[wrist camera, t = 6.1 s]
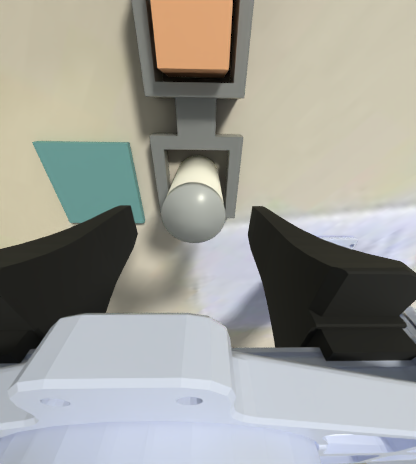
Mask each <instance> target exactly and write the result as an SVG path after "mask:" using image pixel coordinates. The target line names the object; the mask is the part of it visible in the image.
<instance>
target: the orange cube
mask: <svg viewBox="0 0 416 464" xmlns="http://www.w3.org/2000/svg"><path fill="white" fill-rule="evenodd" d="M150 1H151V11H152V20H153V30H154V40H155V49H156V59H157V68H158V69H159V70H161V71H162V72H163V73H165V74H166V75H167V76H169V77H197V78H224V76H225V75H226V73H227V72H228V70H229V57H230V40H231V23H232V6H233V0H150Z"/></svg>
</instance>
